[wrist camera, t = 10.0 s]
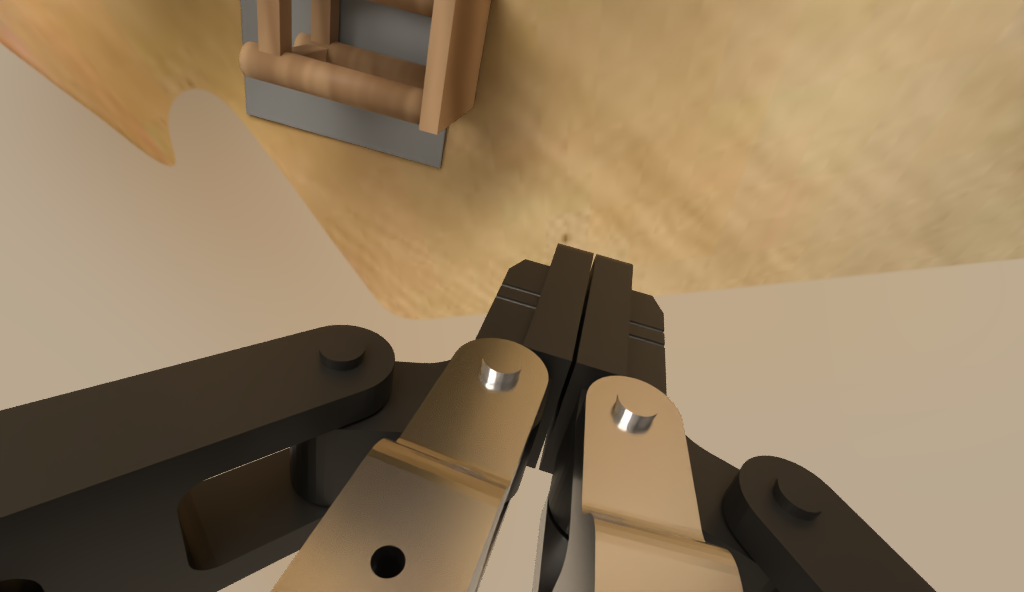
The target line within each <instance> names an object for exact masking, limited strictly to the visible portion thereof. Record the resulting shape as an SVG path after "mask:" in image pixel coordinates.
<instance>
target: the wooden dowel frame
mask: <svg viewBox="0 0 1024 592" xmlns="http://www.w3.org/2000/svg"><path fill="white" fill-rule="evenodd" d="M368 1H372V2H375V3H379V4H383V5H387V6H390V7H394V8H398V9H402V10H406V11H409V12H413V13H417V14H421V15H424V16H428V17H432V22H431V30H430V39H429V47H428V56H427V64H426V66H424V65H421V64H417V63H413V62H410V61H406V60H402V59H399V58H395V57H391V56H388V55H384V54H380V53H377V52H373V51H369V50H366V49H362V48H358V47H355V46H351V45H347V44H344V43H340V42H338V35H339V6H340V0H311V34H307V33H303V32H301V33H299V34H298V35H297V37H296V39H295V42H294V47H292V4H291V0H257V18H258V43H255V42H251V41H249V42H246V43H245V44H244V45H243V47H242V49H241V51H240V56H239V64H240V68H241V71H242V73H243V74H244V75H245V76H247V77H250V78H254V79H257V80H261V81H264V82H268V83H271V84H275V85H279V86H282V87H286V88H289V89H293V90H296V91H300V92H303V93H307V94H311V95H314V96H318V97H321V98H325V99H328V100H332V101H336V102H339V103H343V104H346V105H350V106H353V107H357V108H360V109H364V110H368V111H371V112H375V113H378V114H382V115H385V116H389V117H393V118H396V119H400V120H403V121H407V122H410V123H414V124H418V125H419V130H421V131H425V132H429V133H432V134H436V135H438V134H439V133H440V132H441V131H443V130H444V129H445V128H447V127H448V126H449V125H450V124H452V123H453V122H454V121H456V120H457V119H458V118H459V117H461V116H462V115H463V114H465V113H466V112H467V111H469V110H470V109H471V108H472V107H473V105H474V99H475V93H476V87H477V82H478V76H479V70H480V64H481V58H482V52H483V46H484V40H485V34H486V28H487V22H488V16H489V11H490V5H491V0H368Z"/></svg>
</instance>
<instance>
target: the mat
mask: <svg viewBox="0 0 1024 592" xmlns="http://www.w3.org/2000/svg"><path fill="white" fill-rule="evenodd" d="M240 2H241V20H242V38H243V45H244V44H245V43H246V42H249V41H251V42H255V43H258V18H257V0H240ZM291 4H292V47H294V42H295V39H296V37H297V35H298V34H299V33H301V32H303V33H307V34H311V0H291ZM431 22H432V17H428V16H424V15H421V14H417V13H413V12H409V11H406V10H402V9H398V8H394V7H390V6H387V5H383V4H379V3H375V2H372V1H368V0H340V6H339V35H338V42H340V43H344V44H347V45H351V46H355V47H358V48H362V49H366V50H369V51H373V52H377V53H380V54H384V55H388V56H391V57H395V58H399V59H402V60H406V61H410V62H413V63H417V64H421V65H424V66H426V64H427V56H428V47H429V39H430V30H431ZM245 93H246V111H247V114H249V115H253V116H256V117H260V118H264V119H267V120H271V121H274V122H278V123H281V124H285V125H288V126H292V127H295V128H299V129H302V130H306V131H310V132H313V133H317V134H320V135H324V136H327V137H331V138H334V139H338V140H341V141H345V142H349V143H352V144H356V145H359V146H363V147H366V148H370V149H373V150H377V151H380V152H384V153H387V154H391V155H395V156H398V157H402V158H405V159H409V160H412V161H416V162H419V163H423V164H426V165H430V166H433V167H437V168H441V161H442V154H443V147H444V140H445V133H446V128H445V129H444V130H443V131H441V132H440V133H439V134H438V135H436V134H432V133H429V132H425V131H421V130H419V125H418V124H414V123H410V122H407V121H403V120H400V119H396V118H393V117H389V116H385V115H382V114H378V113H375V112H371V111H368V110H364V109H360V108H357V107H353V106H350V105H346V104H343V103H339V102H336V101H332V100H328V99H325V98H321V97H318V96H314V95H311V94H307V93H303V92H300V91H296V90H293V89H289V88H286V87H282V86H279V85H275V84H271V83H268V82H264V81H261V80H257V79H254V78H250V77H247V76H245Z"/></svg>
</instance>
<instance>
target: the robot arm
mask: <svg viewBox="0 0 1024 592" xmlns="http://www.w3.org/2000/svg"><path fill="white" fill-rule="evenodd" d="M593 254H594V253H590V252H587V251H583V250H580V249H577V248H573V247H570V246H566V245H563V244H559V243H558V245H557V248H556V251H555V254H554V257H553V260H552V263H551V266H547V265H543V264H540V263H537V262H533V261H530V260H526V259H525V260H523V261H522V262H520V263H518V264H516V265H515V266H513V267H511V268H509V270H508V272H507V274H506V277H505V279H504V281H503V283H502V286H501V287H500V289H499V291H498V293H497V296H496V298H495V300H494V302H493V304H492V306H491V308H490V310H489V312H488V314H487V316H486V318H485V320H484V323H483V325H482V327H481V329H480V331H479V333H478V335H477V337H476V340H473V341H470V342H468V343H466V344H464V345H463V346H461V347H460V348H459V349H458V350H457V352H456V353H455V354H454V356H453V357H452V359H451V360H448V361H444V362H439V363H412V362H411V363H410V362H396V361H395V355H394V352H393V349H392V347H391V346H390V344H389V343H388V342H387V341H386V340H385V339H384V338H383V337H381V336H380V335H379V334H377V333H375V332H373V331H370V330H368V329H365V328H361V327H356V326H350V325H332V326H325V327H321V328H317V329H313V330H309V331H306V332H301V333H297V334H294V335H290V336H286V337H282V338H278V339H274V340H271V341H267V342H263V343H259V344H255V345H251V346H248V347H243V348H240V349H236V350H232V351H228V352H224V353H221V354H217V355H213V356H209V357H205V358H201V359H197V360H193V361H190V362H186V363H182V364H178V365H174V366H171V367H166V368H163V369H159V370H155V371H151V372H148V373H144V374H140V375H136V376H132V377H128V378H124V379H120V380H117V381H113V382H109V383H105V384H101V385H97V386H93V387H90V388H86V389H82V390H78V391H74V392H71V393H67V394H63V395H59V396H55V397H51V398H48V399H43V400H39V401H36V402H32V403H28V404H24V405H20V406H16V407H13V408H9V409H5V410H1V411H0V592H217V591H219V590H221V589H223V588H225V587H227V586H229V585H231V584H233V583H234V582H237V581H239V580H241V579H242V578H244V577H246V576H248V575H250V574H252V573H254V572H256V571H258V570H260V569H262V568H264V567H266V566H268V565H270V564H272V563H274V562H276V561H278V560H280V559H282V558H284V557H286V556H288V555H290V554H292V553H294V552H296V551H298V550H299V552H298V553H297V555H296V556H295V558H294V559H293V560H292V562H291V563H290V565H289V566H288V568H287V569H286V570H285V572H284V573H283V575H282V576H281V578H280V579H279V580H278V582H277V583H276V584H275V586H274V587H273V589H272V590H271V592H477V591H478V588H479V586H480V582H481V580H482V577H483V575H484V572H485V569H486V566H487V564H488V561H489V558H490V555H491V553H492V550H493V547H494V544H495V542H496V539H497V536H498V534H499V531H500V528H501V525H502V522H503V520H504V517H505V514H506V512H507V509H508V506H509V503H510V500H511V498H512V497H513V496H514V495H515V493H516V492H517V490H518V488H519V486H520V482H521V479H522V477H523V473H524V470H525V467H526V466H529V467H532V468H535V467H536V464H537V461H538V458H539V455H540V452H541V449H542V446H543V443H544V441H545V445H544V449H543V454H542V458H541V462H540V468H539V470H542V471H545V472H548V473H551V474H553V476H552V481H551V486H550V491H549V494H548V497H547V500H546V502H545V504H544V507H543V510H542V513H541V518H540V526H539V536H538V544H537V553H536V562H535V571H534V580H533V588H532V592H936V591H935V590H934V589H933V588H932V587H931V586H930V585H929V584H928V583H927V582H926V581H925V580H924V579H923V578H922V577H921V576H920V575H919V574H918V573H917V572H916V571H915V570H914V569H913V568H911V567H910V565H908V564H907V562H905V561H904V560H903V559H902V558H901V557H900V556H899V555H898V554H897V553H896V552H895V551H894V550H893V549H892V548H891V547H890V546H889V545H888V544H887V543H886V542H885V541H884V540H883V539H882V538H881V537H880V536H879V535H878V534H877V533H876V532H875V531H874V530H873V529H872V528H871V527H869V525H868V524H867V523H866V522H865V521H864V520H863V519H861V518H860V517H859V516H858V515H857V514H856V513H855V512H854V511H853V510H852V509H851V508H850V507H849V506H848V505H847V504H846V503H845V502H844V501H843V500H842V499H841V498H840V497H839V496H838V495H837V494H836V493H835V492H834V491H833V490H832V489H831V488H830V487H829V486H828V485H827V484H825V483H824V482H823V481H822V480H821V479H820V478H818V477H817V476H816V475H814V474H813V473H811V472H810V471H808V470H807V469H805V468H803V467H801V466H799V465H797V464H796V463H793V462H791V461H788V460H786V459H782V458H779V457H774V456H758V457H753V458H751V459H749V460H748V461H746V462H745V463H744V464H743V466H742V467H741V469H740V470H739V469H737V468H735V467H734V466H732V465H730V464H729V463H727V462H725V461H723V460H722V459H719V458H718V457H716V456H714V455H712V454H711V453H709V452H708V451H706V450H704V449H703V448H701V447H699V446H698V445H697V444H695V443H694V442H693V441H692V440H690V439H689V438H688V437H687V436H686V435H685V430H684V424H683V420H682V417H681V414H680V412H679V410H678V409H677V407H676V406H675V404H674V403H673V402H672V401H671V400H670V399H669V398H668V397H667V395H666V369H665V348H664V344H665V342H664V341H665V340H664V333H663V332H664V315H663V312H662V310H661V309H660V307H659V306H658V304H657V303H656V301H655V299H654V298H653V296H650V295H647V294H644V293H640V292H637V291H633V290H632V274H633V265H632V264H629V263H626V262H622V261H619V260H615V259H612V258H608V257H605V256H601V255H598V254H596V256H595V259H594V262H593V265H592V268H591V264H592V260H593ZM590 269H591V271H590ZM546 435H547V436H546ZM545 438H546V440H545ZM288 447H290V448H288ZM285 448H288V449H285ZM283 449H285V450H283ZM281 450H283V451H281ZM278 451H280V452H278ZM275 452H278V453H275ZM273 453H275V454H273ZM270 454H272V455H270ZM268 455H270V456H268ZM265 456H267V457H265ZM262 457H265V458H262ZM260 458H262V459H260ZM257 459H259V460H257ZM254 460H257V461H254ZM252 461H254V462H252ZM249 462H252V463H249ZM247 463H249V464H247ZM244 464H246V465H244ZM242 465H244V466H242ZM239 466H241V467H239ZM236 467H239V468H236ZM234 468H236V469H234ZM231 469H233V470H231ZM228 470H231V471H228ZM226 471H228V472H226ZM223 472H226V473H223ZM221 473H223V474H221ZM218 474H221V475H218ZM216 475H218V476H216ZM213 476H216V477H213ZM210 477H213V478H210ZM208 478H210V479H208ZM206 479H208V480H206ZM204 480H205V481H204Z"/></svg>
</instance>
